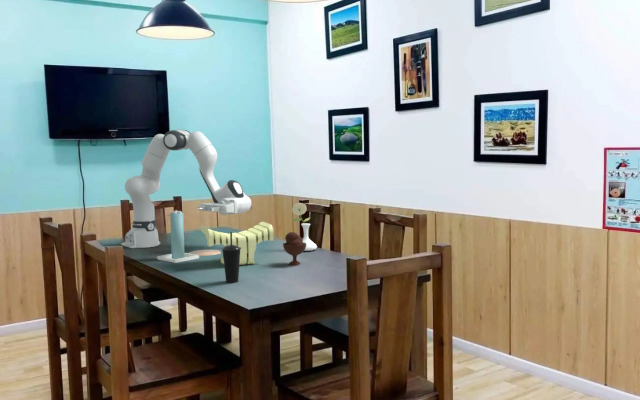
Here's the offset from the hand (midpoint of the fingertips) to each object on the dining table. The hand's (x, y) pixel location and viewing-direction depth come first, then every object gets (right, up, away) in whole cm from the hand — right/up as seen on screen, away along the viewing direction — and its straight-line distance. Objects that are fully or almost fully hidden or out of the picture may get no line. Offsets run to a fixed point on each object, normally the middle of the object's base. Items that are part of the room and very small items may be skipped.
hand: (204, 209), depth 289 cm
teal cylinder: (-11, -24, -11) cm, 28 cm away
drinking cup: (+22, -28, -57) cm, 68 cm away
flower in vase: (+50, -22, +12) cm, 56 cm away
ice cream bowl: (+46, -25, -24) cm, 58 cm away
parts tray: (-11, -24, -11) cm, 29 cm away
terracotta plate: (-1, -23, +4) cm, 23 cm away
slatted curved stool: (+19, -25, -20) cm, 38 cm away
